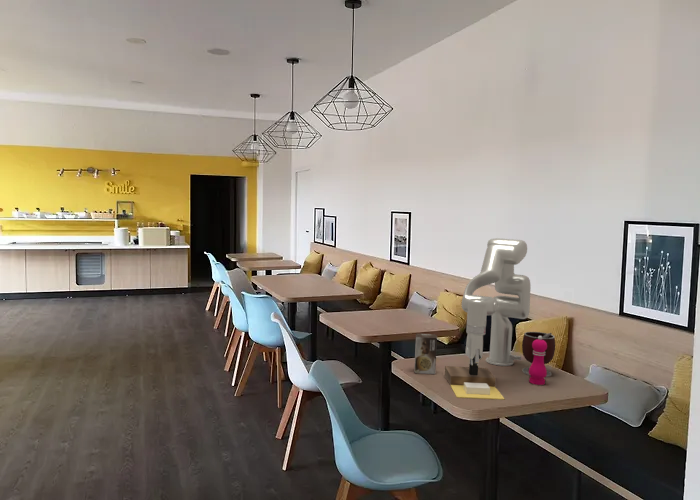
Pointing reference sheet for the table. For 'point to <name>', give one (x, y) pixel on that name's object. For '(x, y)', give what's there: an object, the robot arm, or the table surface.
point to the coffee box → (425, 353)
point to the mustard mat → (462, 394)
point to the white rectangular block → (476, 388)
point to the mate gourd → (528, 349)
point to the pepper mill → (538, 362)
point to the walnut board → (468, 376)
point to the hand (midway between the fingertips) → (473, 374)
